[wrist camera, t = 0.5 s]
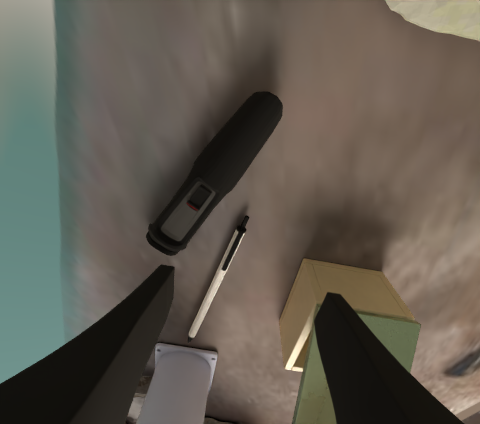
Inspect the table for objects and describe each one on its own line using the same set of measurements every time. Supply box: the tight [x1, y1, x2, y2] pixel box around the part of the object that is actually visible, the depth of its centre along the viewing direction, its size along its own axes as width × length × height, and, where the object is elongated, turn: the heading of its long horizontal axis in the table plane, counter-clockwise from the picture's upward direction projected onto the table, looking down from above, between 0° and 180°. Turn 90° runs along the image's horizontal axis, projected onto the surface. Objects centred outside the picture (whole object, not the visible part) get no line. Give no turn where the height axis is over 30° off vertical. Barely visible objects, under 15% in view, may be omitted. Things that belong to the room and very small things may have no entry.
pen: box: [188, 215, 249, 343], centre depth 24 cm, size 1×19×1 cm, turn 158°
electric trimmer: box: [146, 92, 283, 256], centre depth 18 cm, size 4×16×3 cm, turn 142°
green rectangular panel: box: [292, 304, 421, 424], centre depth 18 cm, size 10×8×1 cm
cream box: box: [279, 258, 414, 372], centre depth 22 cm, size 9×8×5 cm
